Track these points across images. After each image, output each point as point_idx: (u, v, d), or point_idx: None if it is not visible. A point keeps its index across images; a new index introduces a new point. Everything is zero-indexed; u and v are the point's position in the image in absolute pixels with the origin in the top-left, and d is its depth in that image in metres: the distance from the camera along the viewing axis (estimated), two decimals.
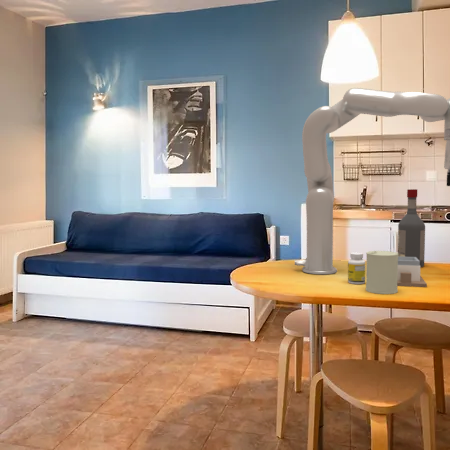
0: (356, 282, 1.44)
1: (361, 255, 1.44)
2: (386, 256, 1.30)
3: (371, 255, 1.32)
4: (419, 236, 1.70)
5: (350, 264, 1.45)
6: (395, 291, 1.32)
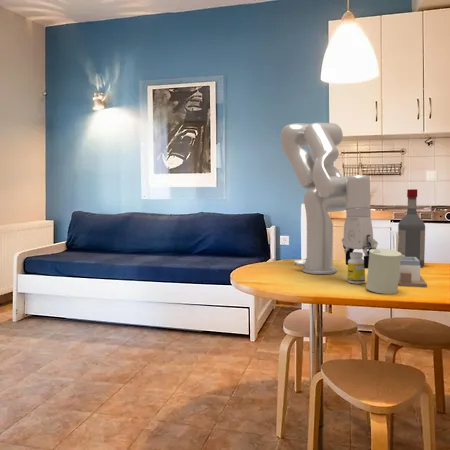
0: (356, 281, 1.44)
1: (360, 254, 1.45)
2: (389, 257, 1.29)
3: (374, 254, 1.31)
4: (419, 236, 1.70)
5: (350, 263, 1.45)
6: (395, 291, 1.32)
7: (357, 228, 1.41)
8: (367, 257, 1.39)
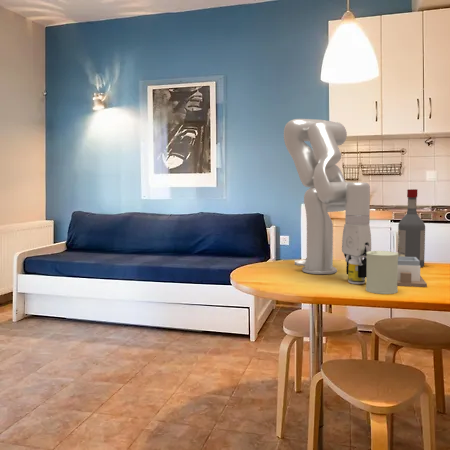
0: (356, 282, 1.44)
1: None
2: (386, 256, 1.30)
3: (371, 255, 1.32)
4: (419, 236, 1.70)
5: (350, 264, 1.45)
6: (395, 291, 1.32)
7: (356, 235, 1.41)
8: (361, 267, 1.42)
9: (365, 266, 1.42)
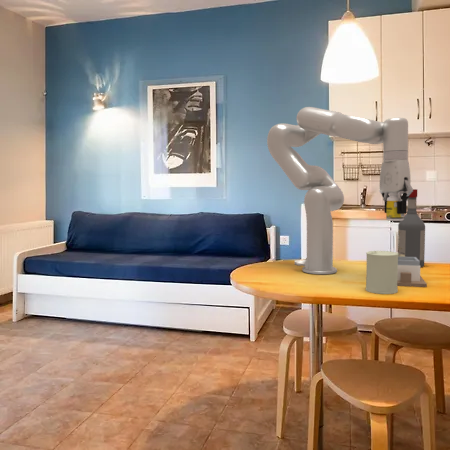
0: (395, 218, 1.43)
1: None
2: (386, 256, 1.30)
3: (371, 255, 1.32)
4: (419, 236, 1.70)
5: (389, 201, 1.44)
6: (395, 291, 1.32)
7: (394, 171, 1.41)
8: (400, 202, 1.42)
9: (404, 202, 1.42)
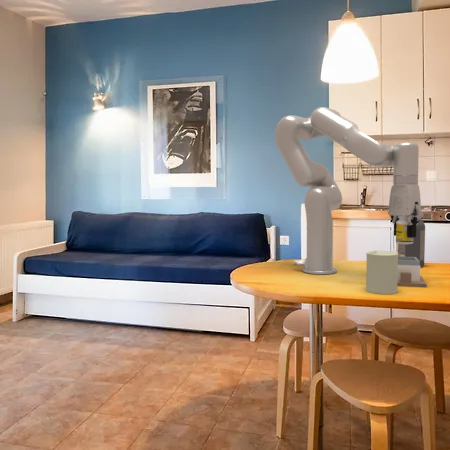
0: (405, 242, 1.45)
1: None
2: (386, 256, 1.30)
3: (371, 255, 1.32)
4: (419, 236, 1.70)
5: (399, 224, 1.45)
6: (395, 291, 1.32)
7: (405, 195, 1.42)
8: (411, 226, 1.43)
9: (414, 226, 1.43)
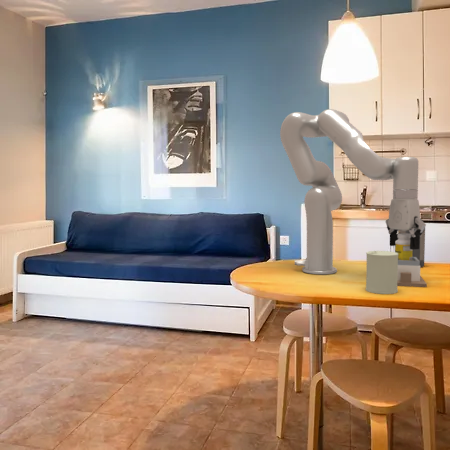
0: None
1: (409, 235, 1.45)
2: (386, 256, 1.30)
3: (371, 255, 1.32)
4: None
5: (398, 244, 1.46)
6: (395, 291, 1.32)
7: (405, 209, 1.42)
8: (414, 238, 1.42)
9: (418, 238, 1.42)
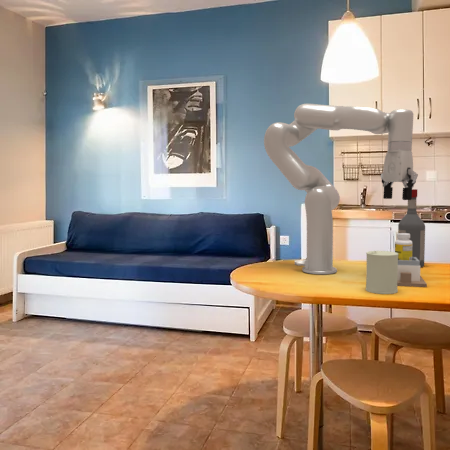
0: None
1: (409, 235, 1.45)
2: (386, 256, 1.30)
3: (371, 255, 1.32)
4: (419, 236, 1.70)
5: (397, 244, 1.46)
6: (395, 291, 1.32)
7: (398, 161, 1.46)
8: (406, 189, 1.45)
9: (410, 188, 1.45)
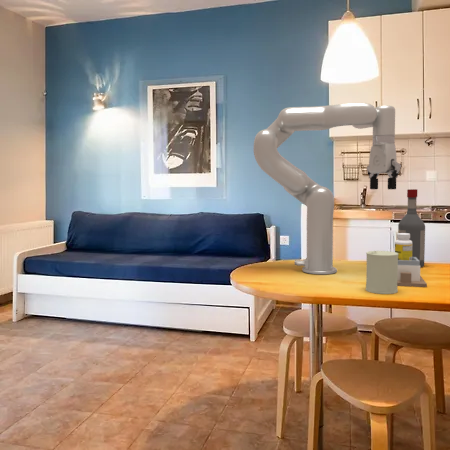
0: None
1: (408, 235, 1.45)
2: (386, 256, 1.30)
3: (371, 255, 1.32)
4: (419, 236, 1.70)
5: (397, 244, 1.46)
6: (395, 291, 1.32)
7: (382, 153, 1.57)
8: (391, 179, 1.56)
9: (394, 178, 1.56)
